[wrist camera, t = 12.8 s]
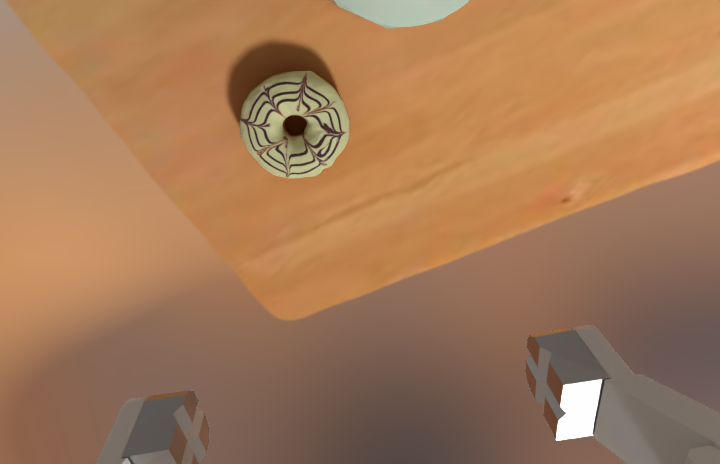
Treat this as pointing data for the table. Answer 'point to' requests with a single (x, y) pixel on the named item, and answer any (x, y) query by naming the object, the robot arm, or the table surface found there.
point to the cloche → (401, 10)
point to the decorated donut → (269, 133)
